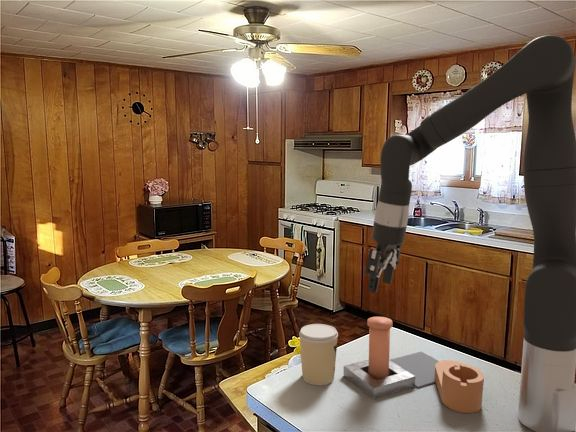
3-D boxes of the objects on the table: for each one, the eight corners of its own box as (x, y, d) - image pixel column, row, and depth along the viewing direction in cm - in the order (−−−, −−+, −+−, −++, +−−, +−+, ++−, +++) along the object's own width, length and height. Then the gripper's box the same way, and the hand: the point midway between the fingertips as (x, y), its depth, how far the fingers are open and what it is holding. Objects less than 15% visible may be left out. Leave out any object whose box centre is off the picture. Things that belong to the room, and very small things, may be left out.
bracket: (485, 414, 95) (488, 384, 94) (444, 410, 96) (446, 380, 95) (467, 372, 113) (469, 345, 111) (432, 369, 114) (434, 343, 113)
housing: (414, 386, 107) (415, 376, 106) (373, 398, 101) (373, 388, 101) (382, 365, 117) (382, 355, 117) (343, 375, 112) (343, 365, 112)
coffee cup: (344, 383, 108) (344, 334, 107) (307, 390, 105) (308, 340, 104) (327, 366, 117) (328, 321, 115) (293, 372, 114) (293, 326, 112)
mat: (461, 374, 112) (461, 373, 112) (417, 388, 106) (418, 386, 106) (421, 352, 124) (421, 351, 124) (380, 363, 118) (380, 362, 118)
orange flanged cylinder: (395, 383, 108) (397, 322, 106) (376, 389, 106) (377, 327, 103) (380, 373, 113) (381, 315, 111) (361, 378, 111) (362, 319, 109)
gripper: (394, 229, 98) (382, 299, 101) (416, 221, 110) (405, 284, 113) (362, 221, 102) (352, 289, 105) (387, 214, 114) (377, 276, 117)
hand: (379, 287), depth 109 cm, fingers open, 8 cm apart
